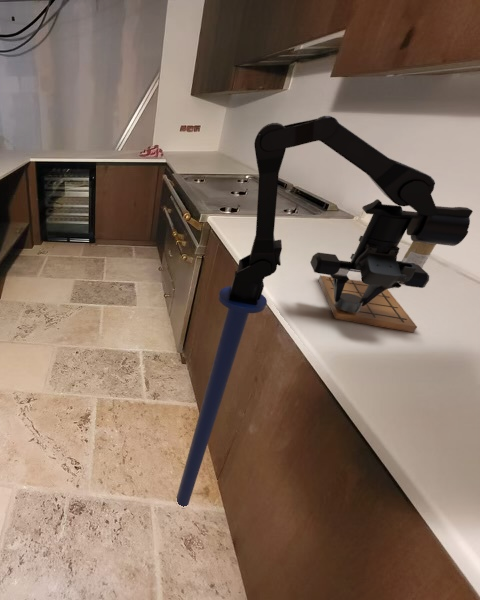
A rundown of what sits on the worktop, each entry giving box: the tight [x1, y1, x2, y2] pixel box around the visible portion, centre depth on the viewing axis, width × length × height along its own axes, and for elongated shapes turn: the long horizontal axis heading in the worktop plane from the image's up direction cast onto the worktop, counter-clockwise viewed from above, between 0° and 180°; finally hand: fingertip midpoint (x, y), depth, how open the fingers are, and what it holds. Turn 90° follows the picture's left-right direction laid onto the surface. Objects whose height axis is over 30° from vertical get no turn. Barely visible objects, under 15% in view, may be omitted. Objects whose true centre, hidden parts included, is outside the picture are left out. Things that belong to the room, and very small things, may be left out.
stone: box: [335, 293, 364, 312], centre depth 72 cm, size 5×5×2 cm
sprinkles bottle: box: [401, 241, 437, 284], centre depth 84 cm, size 5×5×14 cm
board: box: [317, 274, 418, 333], centre depth 77 cm, size 14×20×2 cm
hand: (348, 303), depth 72 cm, fingers closed on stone, 4 cm apart
